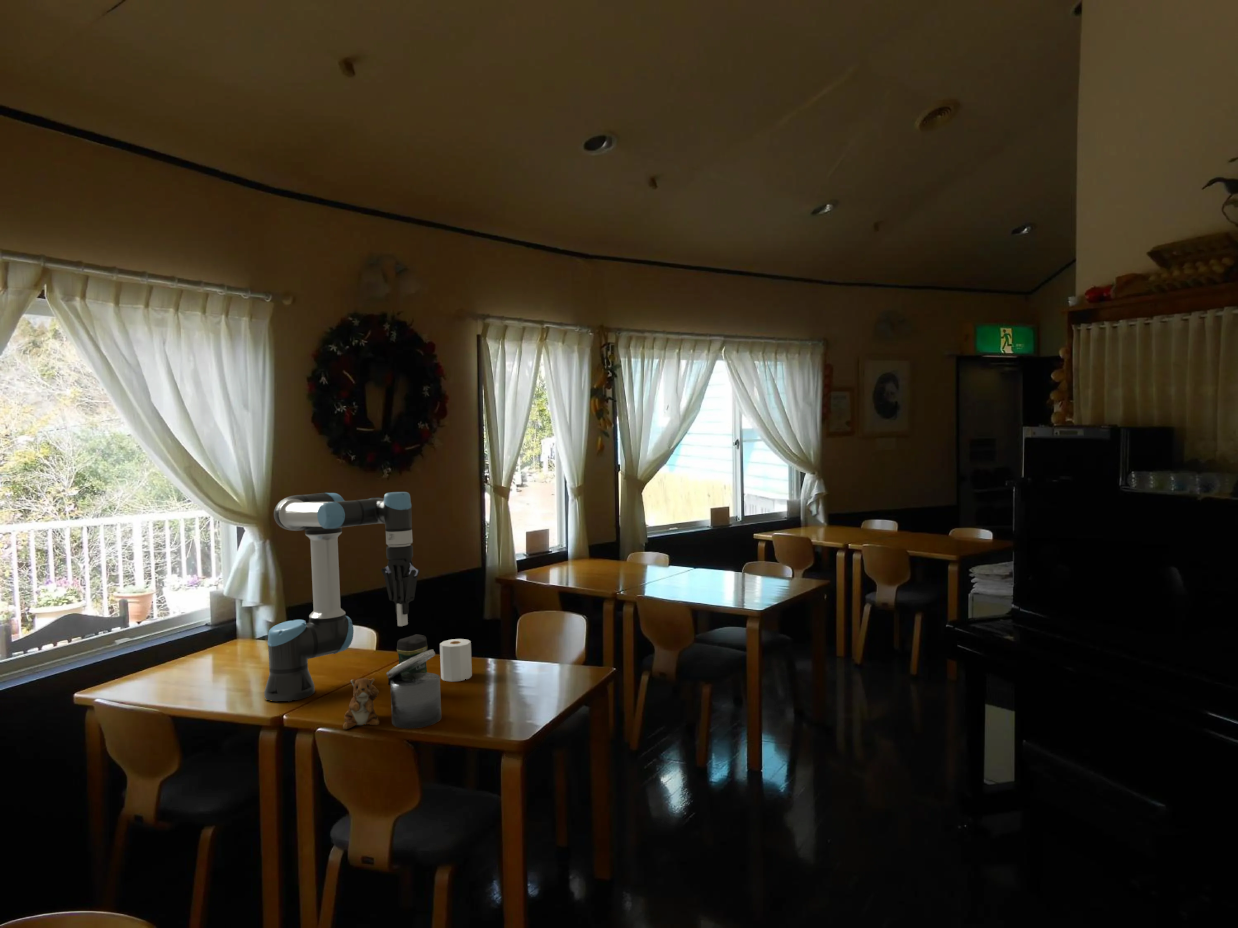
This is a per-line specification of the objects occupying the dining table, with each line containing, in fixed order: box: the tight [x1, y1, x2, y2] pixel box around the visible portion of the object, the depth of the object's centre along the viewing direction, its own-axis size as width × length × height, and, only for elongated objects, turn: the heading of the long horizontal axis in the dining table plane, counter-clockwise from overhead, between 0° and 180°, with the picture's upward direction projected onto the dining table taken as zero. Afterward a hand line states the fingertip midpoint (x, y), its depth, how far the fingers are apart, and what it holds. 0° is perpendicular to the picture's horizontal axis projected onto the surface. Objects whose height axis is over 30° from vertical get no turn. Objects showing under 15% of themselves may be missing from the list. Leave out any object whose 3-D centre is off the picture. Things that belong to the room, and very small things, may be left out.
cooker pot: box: [387, 672, 442, 730], centre depth 238 cm, size 15×14×12 cm
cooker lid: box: [386, 649, 436, 679], centre depth 238 cm, size 15×15×1 cm
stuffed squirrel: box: [342, 677, 380, 730], centre depth 238 cm, size 10×14×13 cm
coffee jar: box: [396, 634, 428, 675], centre depth 263 cm, size 10×8×19 cm
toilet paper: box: [439, 638, 473, 683], centre depth 279 cm, size 10×10×12 cm
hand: (402, 624), depth 239 cm, fingers closed
